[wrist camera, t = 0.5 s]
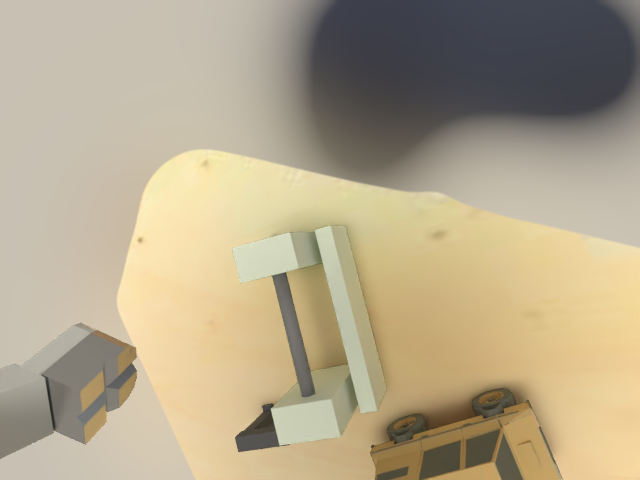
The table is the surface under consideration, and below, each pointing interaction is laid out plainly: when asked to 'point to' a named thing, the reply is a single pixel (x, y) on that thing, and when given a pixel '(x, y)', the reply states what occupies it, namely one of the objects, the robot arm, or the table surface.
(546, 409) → the table surface
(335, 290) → the lever switch frame
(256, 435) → the dark grey flanged post
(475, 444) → the toy car
